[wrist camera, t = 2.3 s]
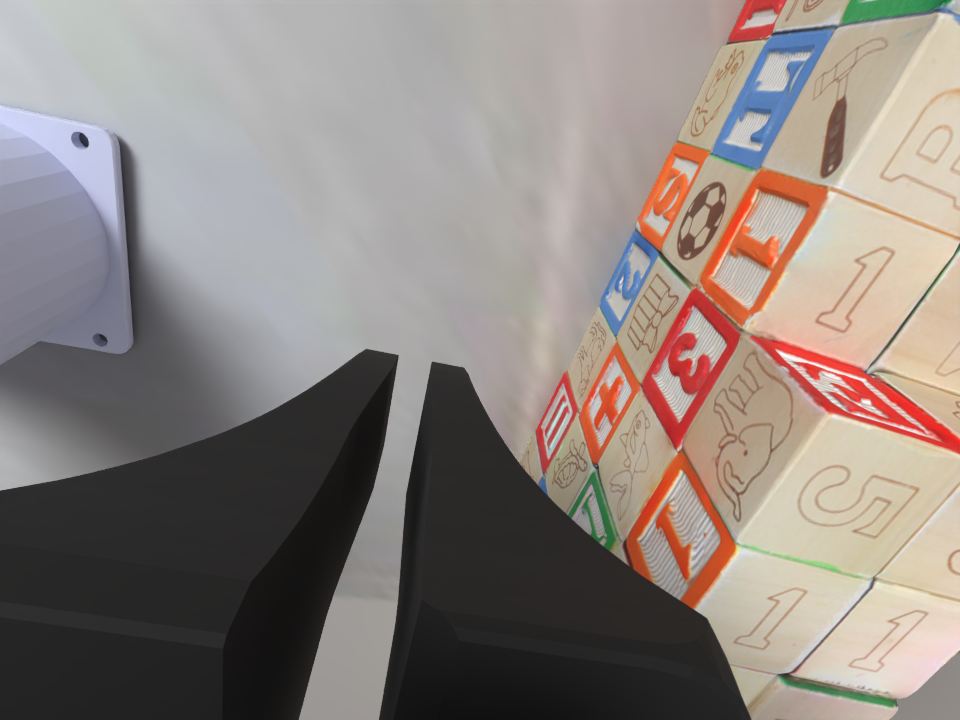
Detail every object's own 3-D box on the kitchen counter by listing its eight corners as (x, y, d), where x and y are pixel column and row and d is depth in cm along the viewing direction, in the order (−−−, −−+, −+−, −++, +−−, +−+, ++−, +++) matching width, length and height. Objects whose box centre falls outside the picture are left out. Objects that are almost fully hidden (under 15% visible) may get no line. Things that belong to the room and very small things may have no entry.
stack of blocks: (773, -80, 16) (1459, -439, 5) (950, 7, 17) (1846, -128, 6) (507, 485, 25) (537, 808, 14) (633, 519, 26) (755, 846, 15)
